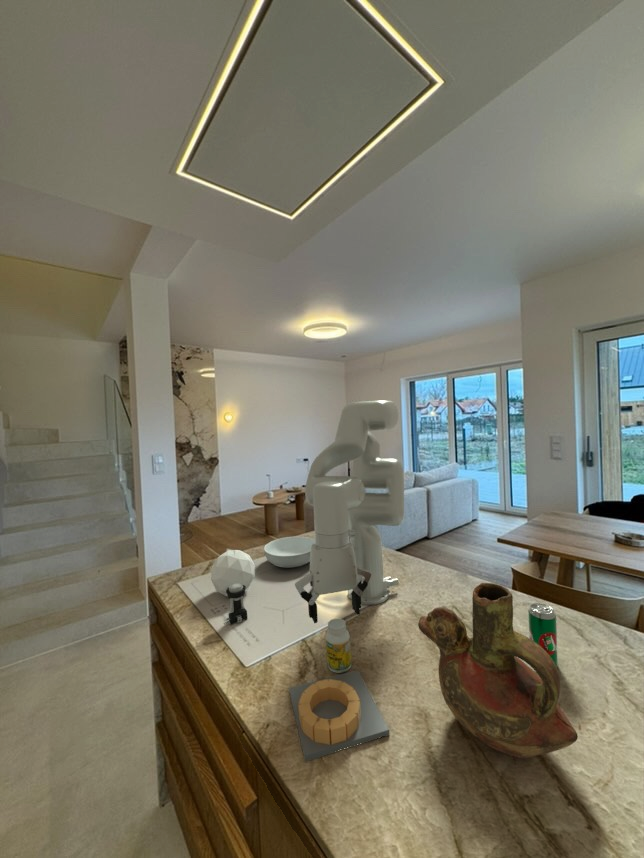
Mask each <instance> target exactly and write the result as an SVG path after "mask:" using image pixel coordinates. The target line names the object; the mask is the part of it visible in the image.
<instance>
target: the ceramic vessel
mask: <svg viewBox="0 0 644 858" xmlns="http://www.w3.org/2000/svg"><path fill="white" fill-rule="evenodd" d="M513 599H514V597H513V594H512V592H511V591H510V590H509V589H508V588H507V587H505V586H502V585H501V584H498V583H493V582H481V583H479V584H478V585H477V586H475V587H474V589H473V591H472V602H471V603H472V618H471V619H472V637H469V636H468V634H467V628H466V626H465V624H464V622H463V621H462V619H461V618H459V616H458V615H457V614H456V612H454V611H453V610H451V609H449V608H445V607H443V606H442V607H436V608H433V609H432V611H429V612H428V613H427V616H425V615H424V616H420V618H419V619H418V623H417V625H418V629H419V631H421V633H422V634H423V635H425V636H426V637H427V638H428V639H429V640H430V641H432V642H433V643H434V644H435V645H436V646H437V647H438V649H439V663H438V680H439V686H440V689H441V694H442V697H443V699H444V702H445V703H446V705H447V707H448V708H449V710H450V711H451V713H452V715H453V717H454V718H455V719H456V721H457V722H459V723H460V724H461V725H462V726H463V728H465V729H466V730H467V731H468V732H469V733H470V734H472V735H473V736H474V737H476V738H478V739H479V740H480V741H481V742H482V743H483V744H485V745H487V746H488V747H490V748H492V749H493V750H496V751H498V752H500V753H501V752H502V753H503V754H507V755H508V756H511V757H515V758H519V759H528V758H531V757H534V756H541V755H547V754H551V753H553V752H557V751H559V750H560V751H561V750H563V749H566V748H568V747H569V746H571V745H573V744H574V743H576V741H577V740H578V733H577V731H576V729H575V728H574V726H573V724H572V723H571V722H570V721H569V719H568V717H567V716H566V714H565V712H564V711H563V710H562V709H561V707H560V706H559V704H558V701H559V697H560V693H561V692H560V691H561V679H560V674H559V672H558V667H557V666H556V665H555V663H554V661H553V660H552V658H551V657H550V655H549V654H548V653H547V652H546V651H545V650H544V649H543V648H542V647H541V646H540V645H538V644H537V643H536V642H534V641H533V640H531V639H530V638H529V637H527V636H526V635H524V634H522V633H519V632H518V631H515V630H514V626H513V625H514V624H513V621H514V606H513V602H514V601H513ZM528 665H529V666H528Z"/></svg>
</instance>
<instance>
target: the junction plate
mask: <svg viewBox="0 0 644 858" xmlns="http://www.w3.org/2000/svg"><path fill="white" fill-rule="evenodd" d="M327 679H328V681H329V679H332V680H339V681H342V683H343V682H345V683H347V684H348V685H350V686H351V687H353V688H354V690H355V691H356V693H357V695H358V697H359V699H360V711H361V716H360V722H359V727H358V729H357V730H356V731H355V732H354V733H353V734H352V735H351V736H350V737H349V738H346V740H345V741H341V742H338V743H335V744H331V742H330V745H329V744H324V743H319V742H315V740H314V741H313V740H312V739H310V738H309V737H308V736H307V735H306V734H305V733H304V732H303V730H302V728H301V724H300V720H299V708H298V703H299V701H300V698H301V696H302V693H303V692H304V691H305V690H306V689H307V688H308V687H309V686H311V685H312V684H313V683H314V684H315V682H319V681H323V680H327ZM288 690H289V696H290V701H291V705H292V709H293V713H294V718H295V722H296V726H297V730H298V731H297V733H298V737H299V740H300V745H301V749H302V752H303V753H302V754H303V758H304V762H309V761H313V760H315V759H318V758H321V756H322V757H325V756H328V755H331V754H333V752H335V751H338V750H340V749H344V748H347V747H350V746H353V747H355V746H354V745H357V744H360V743H363V744H365V743H364V742H366V743H369V742H372V741H374V740H373V739H375V740H378V739H377V738H379V737H380V738H379V739H381V737H382V736H385V735H386V736H385V737H387V735H388V736H390V735H391V734H390V728H389V726H388V724H387V722H386V721H385V718H384V716H383V714H382V713H381V711H380V708H379V707H378V705H377V703H376V701H375V700H374V697H373V696H372V694H371V692H370V689H369V688H368V686H367V684H366V682H365V680H364V679H363V677H362V674H361V673H360V671H359V669H357V670H353V671H348V672H343V673H339V674H337V675H333V676H329V677H326V678H322V679H318V680H313V681H310V682H306V683H303V684H299V685H296V686H292V687H290V686H289V687H288ZM346 710H347V707H346V706H345V705H344V704H342V703H341V702H339V701H335V700H326V701H322V702H320V703H319V704H317V705H316V706H315V707H314V708H313V710H312V712H313V713H314V714H315V715H316V716H318V717H319V718H323V719H329V720H330V719H334V718H337V717H340V716H341V715H342V714H343V713H344V712H345V711H346ZM389 734H390V735H389ZM382 738H383V737H382ZM371 740H372V741H371ZM368 741H369V742H368ZM360 745H361V744H360ZM357 746H358V745H357ZM350 748H351V747H350ZM347 749H348V748H347ZM344 750H345V749H344ZM338 752H339V751H338ZM330 753H331V754H330ZM335 753H336V752H335ZM327 754H328V755H327Z"/></svg>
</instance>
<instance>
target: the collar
mask: <svg viewBox="0 0 644 858" xmlns="http://www.w3.org/2000/svg"><path fill="white" fill-rule="evenodd" d="M326 700H335V701H339V702H341V703H342V704H344V705H345V706H346V707H347V710H346V711H345V712H344V713H343V714H342V715H341V716H340V717H337V718H334V719H330V720H329V719H323V718H319V717H318V716H316V715H315V714H314V713H313V712H312V710H313V708H314V707H315V706H316V705H317V704H319V703H320V702H322V701H326ZM298 708H299V720H300V724H301V728H302V730H303V732H304V733H305V734H306V735H307V736H308V737H309V738H310V739H312V740H313V741H314V740H315V742H319V743H324V744H329V745H330V742H331V744H335V743H338V742H341V741H345V740H346V738H349V737H350V736H351V735H352V734H353V733H354V732H355V731H356V730H357V729H358V727H359V722H360V716H361V711H360V699H359V697H358V695H357V693H356V691H355V690H354V688H353V687H351V686H350V685H348V684H347V683H345V682H343V683H342V681H339V680H332V679H329V681H328V679H327V680H323V681H319V682H315V684H314V683H313V684H312V685H311V686H309V687H308V688H307V689H306V690H305V691H304V692H303V693H302V696H301V698H300V701H299V703H298Z"/></svg>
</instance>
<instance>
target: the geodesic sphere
mask: <svg viewBox="0 0 644 858" xmlns="http://www.w3.org/2000/svg"><path fill="white" fill-rule="evenodd" d="M225 550H226V551H225V552H223V553H222V554H221V555H219V556H218V557H217V558H216V560H215V561H214V563H213V564H212V566H211V568H210V571H211V572H210V580H211V583H212V585H213V587H214V589H215V592H218V593H220V594H222V595H224V596H226V597H228V595H227V593H226V589H227V588H228V587H229V586H230V585H231V584H233V583H236V582H239V583H242V585H244V586H245V587H246V590H248V589H249V587H250V586H251V584H252V582H253V581H254V579H255V575H256V574H255V572H256V567H255V563H254V561H253V559H252V557H251V556H250V554H248V553H246V552H245V551H242V550H240V549H235V548H234V549H233V548H230V547H229V548H226V549H225Z"/></svg>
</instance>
